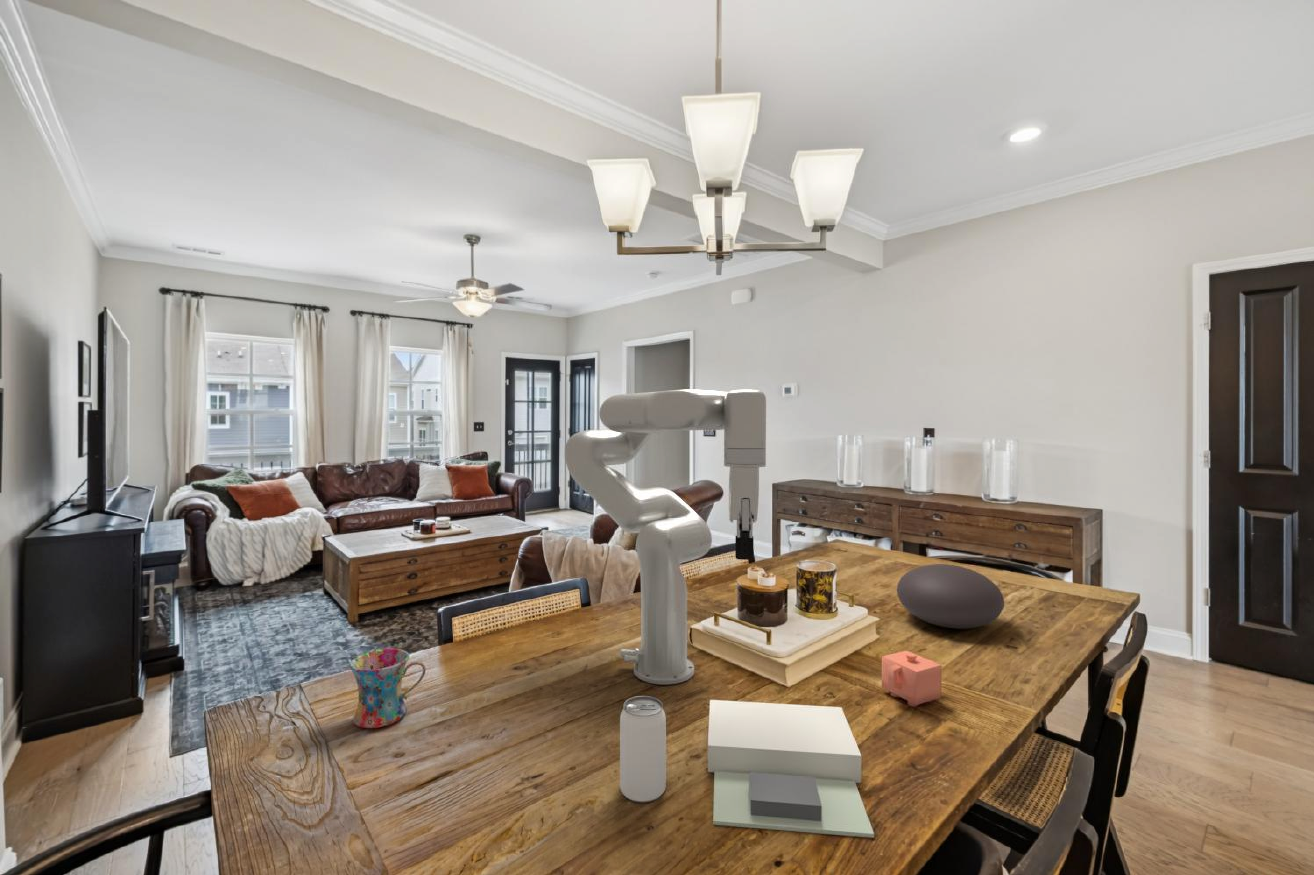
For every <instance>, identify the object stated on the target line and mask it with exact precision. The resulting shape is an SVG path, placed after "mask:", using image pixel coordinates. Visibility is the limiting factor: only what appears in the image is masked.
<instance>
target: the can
mask: <svg viewBox="0 0 1314 875" xmlns="http://www.w3.org/2000/svg"><path fill="white" fill-rule="evenodd" d="M663 706H664V705H663V702H662V701H661V700H660V699H658V698H656V697H653V696H650V695H649V696H648V695H638V696H633V697H630V698H628V699H626V700H625V702H624V703H623V706H622V711H621V713H620V717H619V784H620V786H619V789H620V791H621V793H622V795H623V796H624V797H625V798H626V799H628V800H629V801H632V802H635V803H640V804H641V803H642V804H643V803H651V802H653V801H656V800H657V799H659V798H660V797H661V796H662V795H663V794H664V792H665V790H666V785H667V784H666V780H667V778H666V777H667V770H666V769H667V731H666V730H667V726H666V725H667V723H666V722H667V721H666V720H667V719H666V718H667V717H666V713H665V710H664V708H663Z"/></svg>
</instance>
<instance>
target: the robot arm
mask: <svg viewBox="0 0 1314 875" xmlns="http://www.w3.org/2000/svg"><path fill="white" fill-rule="evenodd" d="M598 416H599V419H600V421H601V424H603V426H604V427H605V428H606V429H587V430H581V431H578V432H576V433H574V434H572V435H571V436H570V437H569V438H568V440H567V441H566V443H565V446H564V459H565V460H564V461H565V463H566V464H565V465H566V468H567V471H568V473H569V474H570V477H571V478H572V479H573V481H574V482H575V483H576V484H577V486H579V487H580V488H581V489H582V490H583V491H584V492H585V493H586V494H587V495H588V496H590V497H591V498H592V499H593V500H594V501H595V502H596V503H597V505H599V506H600V508H602V509H603V510H604V512H605V513H606V514H607V515H608V516H609V517H610V518H611V519H612V520H613V521H614V522H615V523H616V524H617V526H619V527H620V528H621V529H622V530H623V531H624V532H626V533H629V534H637V537H636V541H635V549H636V555H637V560H638V565H639V574H640V599H641V600H640V604H641V605H640V610H641V611H640V613H641V615H640V618H641V619H640V630H641V631H640V632H641V633H640V635H641V636H640V637H641V638H640V643H641V645H640V647H636V648H635V649H630V648H621V649H620V659H623V663H634V664H633V673H634V676H635V677H636V678H637V679H639V680H641V681H643V682H646V683H649V684H653V685H662V686H663V685H667V686H668V685H676V684H680V683H681V684H682V683H684V682H686V681H688V680H690V679H691V678H692V677H693V676H694V674H695V666H694V663H693V662H692V661H691V660H689V659H688V658H687V657H688V638H687V637H688V633H687V632H688V622H687V621H688V588H687V583H686V582H687V581H686V580H685V577H684V575H683V573H682V572H683V571H682V570H681V567H680V564H684V563H686V562H691V561H694V560H696V559H699V558H702V557H704V556H705V555H706V554H708V552H709V551H710V549H711V546H712V543H713V537H712V531H711V529H710V527H709V526H708V524H707V523H706V521H705V520H704V518H702V517H701V515H699V514H698V513H697V512H696V511H695V510H694V509H693V508H692V507H690V505H689V504H687V503H686V502H685V501H684V500H683V499H682V498H681V497H680V496H678V495H677V494H676V493H675V492H674V491H672V490H670V489H669V488H666V487H660V486H657V487H656V486H655V487H654V486H653V487H645V488H644V487H638V486H636V485H635V484H633V483H632V482H631V481H629V480H628V479H627V477H626V476H624V474H622V473H621V472H619V471H618V470H615V469H614V468H612V467H610V466H615V465H619V466H620V465H624V464H627V463H628V462H630V461H632V460H633V459H634V458H636V456H637V454H638V453H639V452H640V451H641V450H642V448H643V447H644V445H645V444H646V443H647V441H648V440H649V439H650V438H651V437H652V435H653V434H654V433H662V432H665V431H723V433H724V434H723V441H724V442H723V447H724V448H723V466H724V467H727V468H728V467H729V474H728V520H729V522H731V523H734V521H736V535H735V541H734V542H735V544H734V545H735V549H734V550H735V559H736V560H743V561H744V560H747V561H748V560H749V561H751V560H753V559H754V547H755V546H754V544H755V543H754V541H755V539H754V535H753V526H754V524H755V523H757V521H758V513H759V512H758V511H759V496H760V494H759V492H760V468H765V467H767V466H766V464H767V451H766V450H767V397H766V394H765V393H764V392H763V391H762V390H756V389H736V390H729V391H720V390H710V389H709V390H708V389H674V390H663V391H652V392H637V393H623V394H616V395H612V396H610V397H607V399H605V400H604V401H603V403H602V404H601V406H600V408H599V414H598ZM753 523H754V524H753Z"/></svg>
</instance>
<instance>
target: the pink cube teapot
mask: <svg viewBox="0 0 1314 875" xmlns="http://www.w3.org/2000/svg"><path fill="white" fill-rule="evenodd" d="M942 668H943V667H942V664H939V663H937V662H935V661H934V660H932V659H927V658H925V657H923V656H921V655H918V654H916V653H915V652H914V653H913V652H911V651H909V650H908V649H907V650H903V651H898V652H893V653H890V654H887V655H883V656H882V657H881V688H883V689H884V690H886V691H888V692H890V693H889V696H891V697H894V698H902V699H904V700H905V701H907V705H908V706H910V707H914V708H915V707H918V706H919V705H922V704H925V703H932V702H933V701H935V700H937V699H940V698H942Z"/></svg>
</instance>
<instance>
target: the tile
mask: <svg viewBox="0 0 1314 875" xmlns="http://www.w3.org/2000/svg"><path fill="white" fill-rule="evenodd" d="M749 793H750V811H751V815H755V816H767V817H778V818H790V819H801V820H813V821H821V819H822V806H821V801H820V797H819V793H818V789H817V785H816V781H815V777H806V776H793V775H780V774H767V773H754V772H749Z"/></svg>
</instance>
